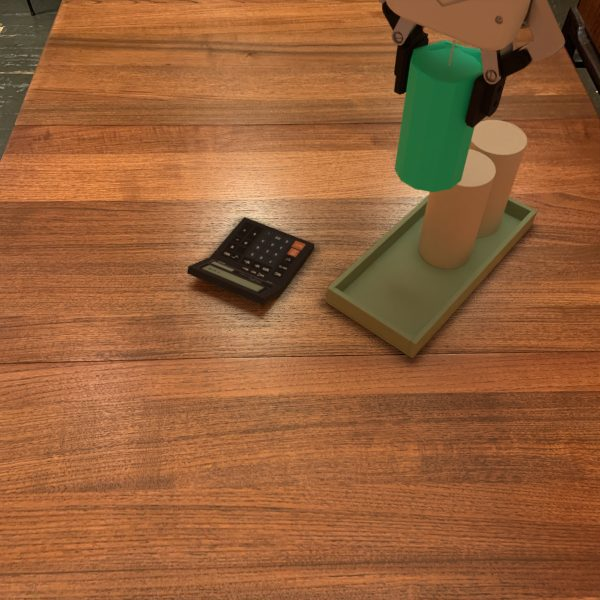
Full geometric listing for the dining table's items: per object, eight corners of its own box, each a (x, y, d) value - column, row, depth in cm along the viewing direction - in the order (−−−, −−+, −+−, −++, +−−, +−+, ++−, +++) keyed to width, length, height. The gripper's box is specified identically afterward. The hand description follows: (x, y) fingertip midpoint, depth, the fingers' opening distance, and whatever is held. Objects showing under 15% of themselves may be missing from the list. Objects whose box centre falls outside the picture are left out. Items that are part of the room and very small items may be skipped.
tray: (531, 226, 78) (537, 210, 76) (412, 358, 66) (415, 344, 64) (451, 185, 83) (455, 169, 81) (326, 302, 71) (326, 287, 69)
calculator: (314, 249, 76) (314, 230, 73) (263, 319, 69) (262, 301, 67) (244, 222, 78) (243, 203, 76) (189, 287, 72) (186, 268, 70)
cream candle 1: (480, 247, 75) (507, 164, 66) (452, 277, 72) (476, 195, 63) (436, 223, 78) (455, 140, 68) (407, 251, 75) (423, 168, 65)
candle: (477, 177, 57) (513, 48, 47) (421, 201, 55) (447, 71, 46) (435, 140, 60) (460, 13, 51) (381, 161, 58) (397, 33, 49)
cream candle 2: (509, 218, 78) (537, 134, 69) (483, 245, 75) (509, 162, 66) (465, 195, 81) (487, 112, 71) (439, 221, 78) (458, 138, 69)
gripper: (339, -181, 40) (328, 82, 54) (609, -111, 33) (516, 171, 47) (409, -207, 44) (382, 46, 58) (665, -149, 37) (563, 123, 50)
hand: (442, 100), depth 52 cm, fingers closed on candle, 5 cm apart
